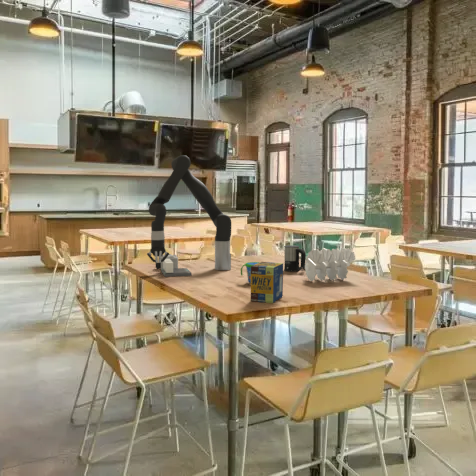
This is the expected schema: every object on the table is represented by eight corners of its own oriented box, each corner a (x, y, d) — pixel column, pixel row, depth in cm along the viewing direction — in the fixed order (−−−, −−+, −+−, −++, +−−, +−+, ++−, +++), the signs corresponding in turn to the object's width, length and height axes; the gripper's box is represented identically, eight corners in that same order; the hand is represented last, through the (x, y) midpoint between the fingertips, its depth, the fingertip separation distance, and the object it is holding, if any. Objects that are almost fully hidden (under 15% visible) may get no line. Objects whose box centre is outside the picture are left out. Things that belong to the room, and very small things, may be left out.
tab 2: (172, 271, 297) (172, 261, 296) (173, 272, 293) (173, 262, 292) (165, 271, 296) (165, 262, 295) (166, 272, 292) (166, 263, 291)
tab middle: (171, 269, 303) (171, 260, 303) (172, 270, 299) (171, 261, 299) (164, 269, 302) (164, 260, 302) (164, 271, 298) (164, 261, 298)
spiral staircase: (303, 287, 281) (344, 282, 289) (317, 278, 265) (360, 273, 274) (295, 255, 287) (336, 251, 295) (308, 244, 271) (351, 240, 279)
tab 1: (169, 268, 309) (169, 258, 309) (170, 269, 305) (170, 259, 305) (163, 268, 308) (162, 259, 308) (163, 269, 304) (163, 259, 304)
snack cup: (272, 281, 276) (272, 262, 275) (267, 285, 266) (267, 265, 265) (244, 280, 281) (244, 261, 280) (238, 283, 271) (238, 264, 270)
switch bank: (186, 270, 313) (186, 267, 313) (191, 275, 294) (191, 272, 294) (161, 271, 309) (161, 268, 309) (164, 276, 291) (164, 273, 291)
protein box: (250, 301, 228) (250, 266, 227) (261, 294, 242) (261, 261, 241) (273, 303, 224) (273, 267, 223) (283, 296, 239) (283, 262, 237)
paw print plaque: (162, 270, 313) (162, 256, 312) (158, 267, 326) (158, 253, 325) (179, 269, 317) (179, 255, 316) (174, 266, 329) (174, 253, 328)
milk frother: (281, 271, 312) (281, 246, 311) (289, 267, 327) (289, 243, 325) (305, 272, 307) (305, 247, 305) (311, 268, 321) (312, 244, 320)
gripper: (168, 238, 303) (169, 267, 304) (145, 238, 300) (146, 268, 301) (170, 239, 296) (170, 269, 297) (146, 239, 292) (146, 270, 294)
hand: (158, 269), depth 299 cm, fingers closed
